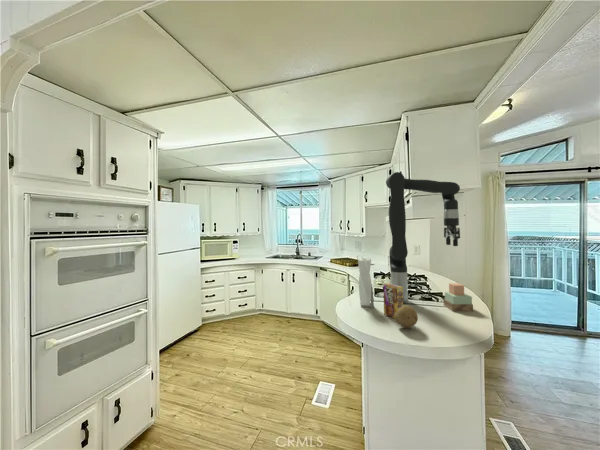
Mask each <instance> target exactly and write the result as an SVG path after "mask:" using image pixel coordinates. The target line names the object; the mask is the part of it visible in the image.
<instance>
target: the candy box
mask: <svg viewBox="0 0 600 450" xmlns="http://www.w3.org/2000/svg"><path fill="white" fill-rule="evenodd" d="M403 305H404V302H403V287H401V286H397V285H393V284H390V283H383V315H384V316H387V317H390V318H393V319H395V315H396V313H397V311H398V309H399V308H400V307H401V306H403Z"/></svg>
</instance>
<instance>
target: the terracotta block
mask: <svg viewBox="0 0 600 450" xmlns="http://www.w3.org/2000/svg"><path fill="white" fill-rule="evenodd" d="M448 292H449V293H451V294H453V295H464V293H465V285H463V284H461V283H458V282H457V283H456V282H454V283H453V282H452V283H451V282H450V283H448Z"/></svg>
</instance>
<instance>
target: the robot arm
mask: <svg viewBox="0 0 600 450" xmlns="http://www.w3.org/2000/svg"><path fill="white" fill-rule="evenodd" d="M385 185H386V186H387V188H388V189H389V191H390V201H389V206H388V207H389V208H388V221H389V223H388V224H389V227H390V233H391V239H392V241H391V246H390V248H389V253H388V254H389V267H390V283H389V284H393V285H397V286H401V287H403V303H407V302H409V294H408V293H409V291H408V286H409V285H408V284H409V283H408V265H407V257H408V253H409V251H408V246H407V241H406V240H407V237H406V231H407V230H406V229H407V228H406V227H407V226H406V224H407V221H406V220H407V219H406V217H407V216H406V205H405V204H406V202H405V190H410V191H418V192H425V193H430V194H439V193H440V194H441V197H442V200H443V226H444V227H443V238H445V244H446V246H451V240H452V246H453V247H458V246H459V242H458V241H459V239H460V238H461V232H460V231H461V230H460V227H458V226H459V225H460V215H459V202H458V200H457V199H456V197H455V195H457V194H458V193H459V192H460V190H461V187H460V185H459V184H458V183H457V182H453V181H438V180H432V179H411V178H407V177H406V178H405V175H404V174H403V173H401V172H399V171H395V172H392V173H391V174H390V175H388V176H387V178H386V180H385ZM451 238H452V239H451Z"/></svg>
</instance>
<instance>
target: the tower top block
mask: <svg viewBox="0 0 600 450" xmlns="http://www.w3.org/2000/svg"><path fill="white" fill-rule="evenodd" d="M444 299H446V300H447V301H449V302H451V303H452V304H473V300H472V299H473V296H472V295H469V294H468V293H465V292H464V295H453V294H451V293H449V291H445V292H444Z"/></svg>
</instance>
